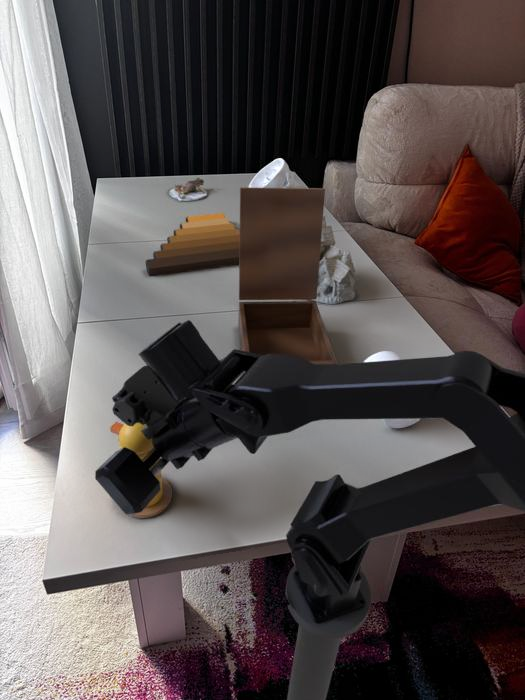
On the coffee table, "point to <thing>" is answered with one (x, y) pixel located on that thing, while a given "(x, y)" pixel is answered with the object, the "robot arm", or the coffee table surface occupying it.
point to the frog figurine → (189, 191)
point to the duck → (136, 446)
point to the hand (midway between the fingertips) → (132, 456)
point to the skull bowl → (275, 176)
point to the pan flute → (197, 246)
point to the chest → (285, 330)
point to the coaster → (158, 506)
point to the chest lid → (280, 243)
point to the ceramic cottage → (334, 271)
